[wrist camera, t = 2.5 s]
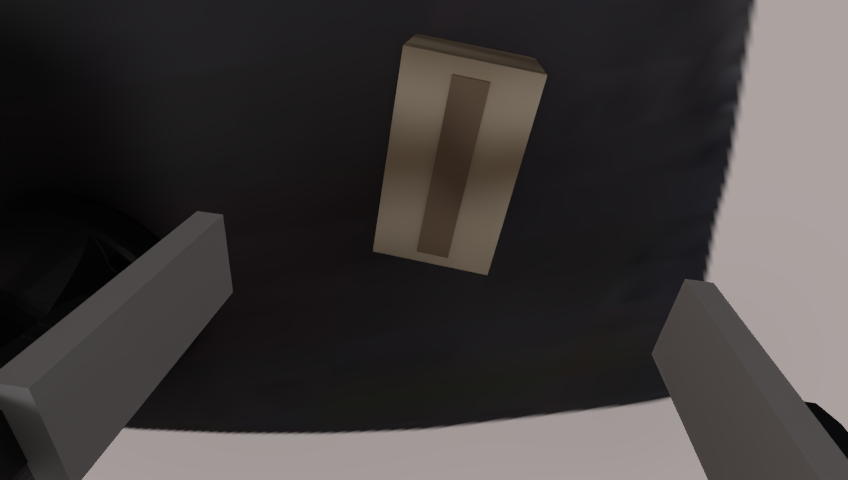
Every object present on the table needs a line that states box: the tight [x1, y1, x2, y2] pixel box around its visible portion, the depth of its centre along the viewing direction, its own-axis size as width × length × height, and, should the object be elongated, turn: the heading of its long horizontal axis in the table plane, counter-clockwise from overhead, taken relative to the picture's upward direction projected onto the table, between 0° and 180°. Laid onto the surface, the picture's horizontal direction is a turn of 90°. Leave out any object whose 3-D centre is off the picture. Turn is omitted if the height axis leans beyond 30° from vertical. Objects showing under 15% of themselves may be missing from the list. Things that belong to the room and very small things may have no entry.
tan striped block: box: [373, 34, 547, 275], centre depth 24 cm, size 10×6×5 cm, turn 170°
